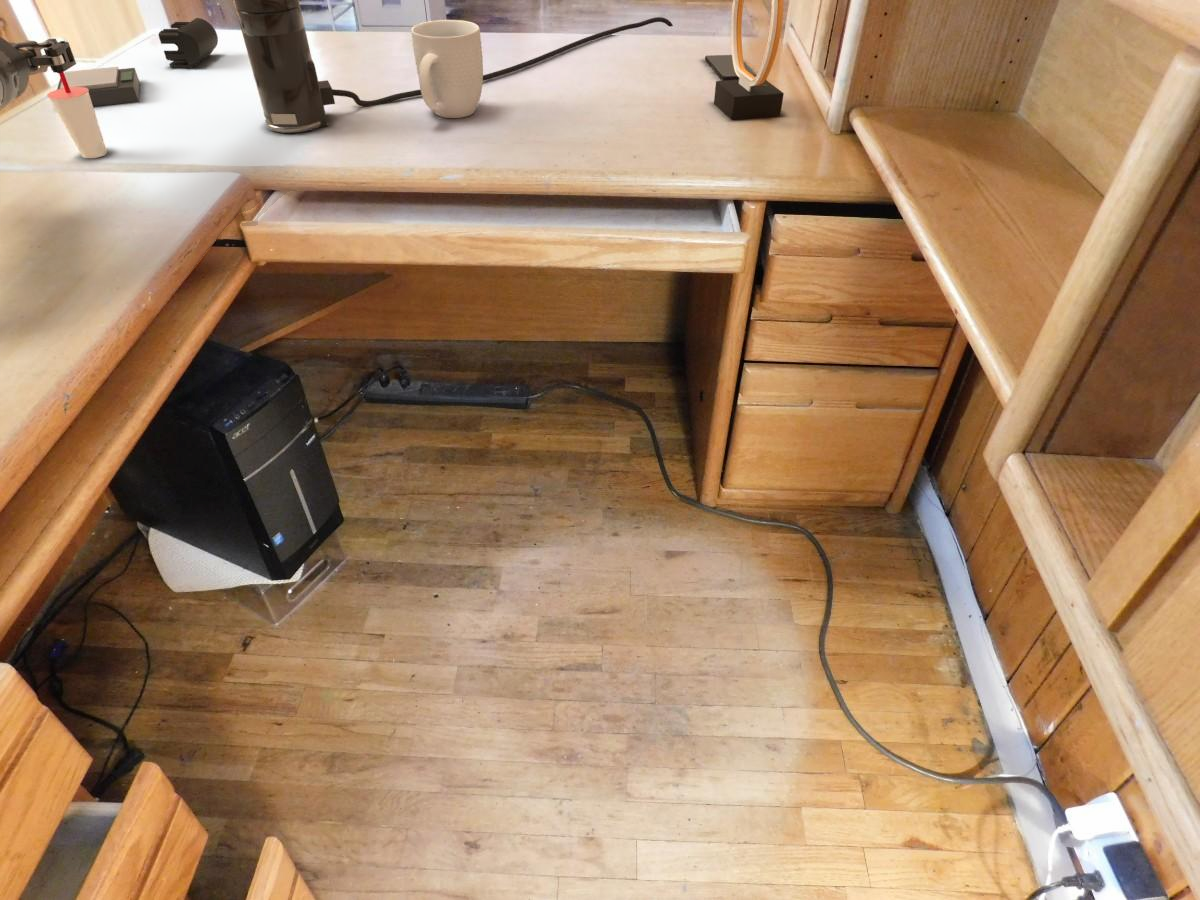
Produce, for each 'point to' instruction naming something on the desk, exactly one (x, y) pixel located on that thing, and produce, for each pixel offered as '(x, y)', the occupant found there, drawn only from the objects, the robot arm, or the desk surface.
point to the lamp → (751, 92)
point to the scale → (106, 84)
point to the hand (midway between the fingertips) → (18, 49)
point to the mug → (449, 66)
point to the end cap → (189, 42)
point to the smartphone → (725, 66)
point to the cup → (79, 118)
